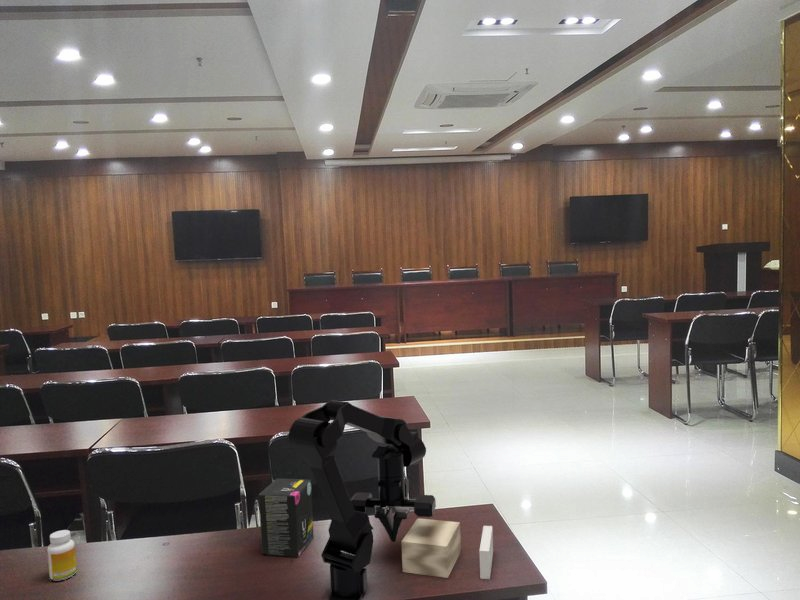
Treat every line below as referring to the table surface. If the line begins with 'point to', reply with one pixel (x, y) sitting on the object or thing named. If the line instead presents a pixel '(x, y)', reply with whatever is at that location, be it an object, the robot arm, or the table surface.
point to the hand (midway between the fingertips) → (394, 541)
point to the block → (431, 547)
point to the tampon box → (286, 517)
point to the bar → (486, 552)
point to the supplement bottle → (61, 555)
